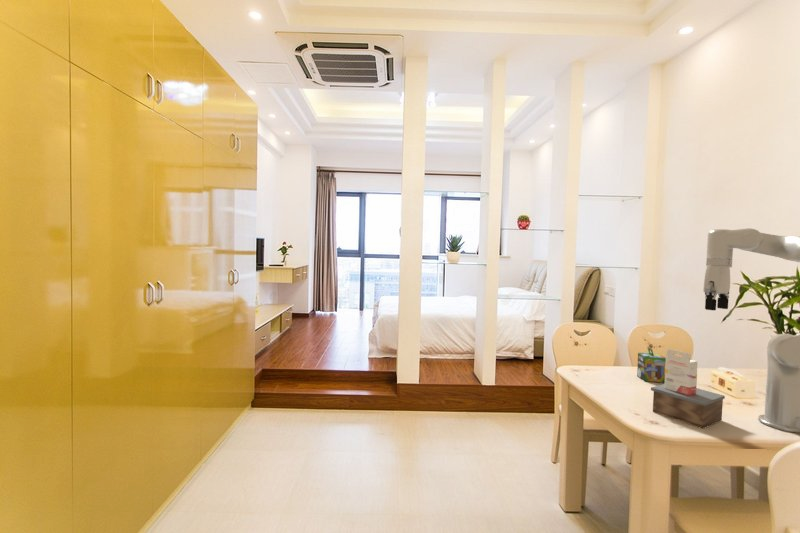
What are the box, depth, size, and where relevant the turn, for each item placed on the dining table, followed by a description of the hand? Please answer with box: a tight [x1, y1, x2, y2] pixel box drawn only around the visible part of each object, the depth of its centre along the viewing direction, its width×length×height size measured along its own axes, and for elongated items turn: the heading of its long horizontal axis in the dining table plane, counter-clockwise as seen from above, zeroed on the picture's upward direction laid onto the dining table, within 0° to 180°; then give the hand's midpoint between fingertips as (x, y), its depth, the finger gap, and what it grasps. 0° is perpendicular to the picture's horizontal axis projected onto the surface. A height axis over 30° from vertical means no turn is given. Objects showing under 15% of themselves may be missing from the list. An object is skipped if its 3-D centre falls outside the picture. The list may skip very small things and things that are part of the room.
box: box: [652, 391, 724, 429], centre depth 146 cm, size 16×14×8 cm
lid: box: [650, 383, 726, 406], centre depth 146 cm, size 17×15×1 cm
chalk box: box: [636, 346, 666, 384], centre depth 189 cm, size 9×9×15 cm
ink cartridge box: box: [664, 348, 698, 395], centre depth 146 cm, size 9×5×15 cm, turn 27°
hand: (716, 309), depth 150 cm, fingers open, 9 cm apart
